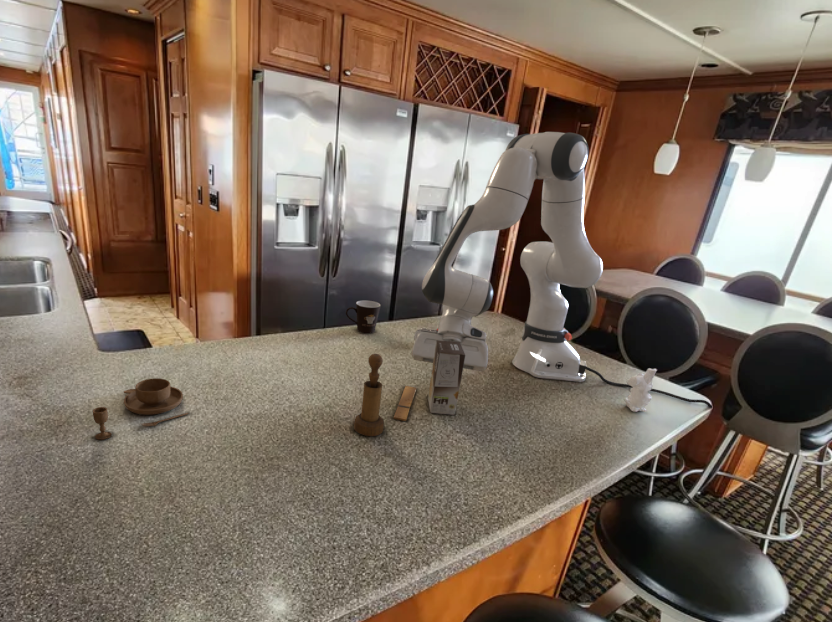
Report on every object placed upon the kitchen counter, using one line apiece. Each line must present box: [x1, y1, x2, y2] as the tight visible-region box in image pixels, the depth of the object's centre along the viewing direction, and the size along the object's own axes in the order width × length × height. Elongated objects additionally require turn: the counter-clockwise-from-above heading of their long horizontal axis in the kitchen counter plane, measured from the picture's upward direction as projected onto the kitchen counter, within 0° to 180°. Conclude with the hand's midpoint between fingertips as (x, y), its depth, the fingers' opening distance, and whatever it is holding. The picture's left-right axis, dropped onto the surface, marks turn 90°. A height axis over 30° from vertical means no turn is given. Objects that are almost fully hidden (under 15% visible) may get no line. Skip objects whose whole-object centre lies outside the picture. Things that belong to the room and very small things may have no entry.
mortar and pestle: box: [353, 353, 385, 437], centre depth 99 cm, size 7×6×18 cm
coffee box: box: [427, 340, 465, 416], centre depth 113 cm, size 9×6×16 cm
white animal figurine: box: [623, 367, 658, 413], centre depth 124 cm, size 8×7×12 cm
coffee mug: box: [345, 300, 381, 335], centre depth 163 cm, size 12×9×10 cm
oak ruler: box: [392, 385, 417, 422], centre depth 116 cm, size 3×18×1 cm, turn 168°
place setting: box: [92, 377, 189, 441], centre depth 99 cm, size 18×20×6 cm
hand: (445, 379), depth 120 cm, fingers closed
